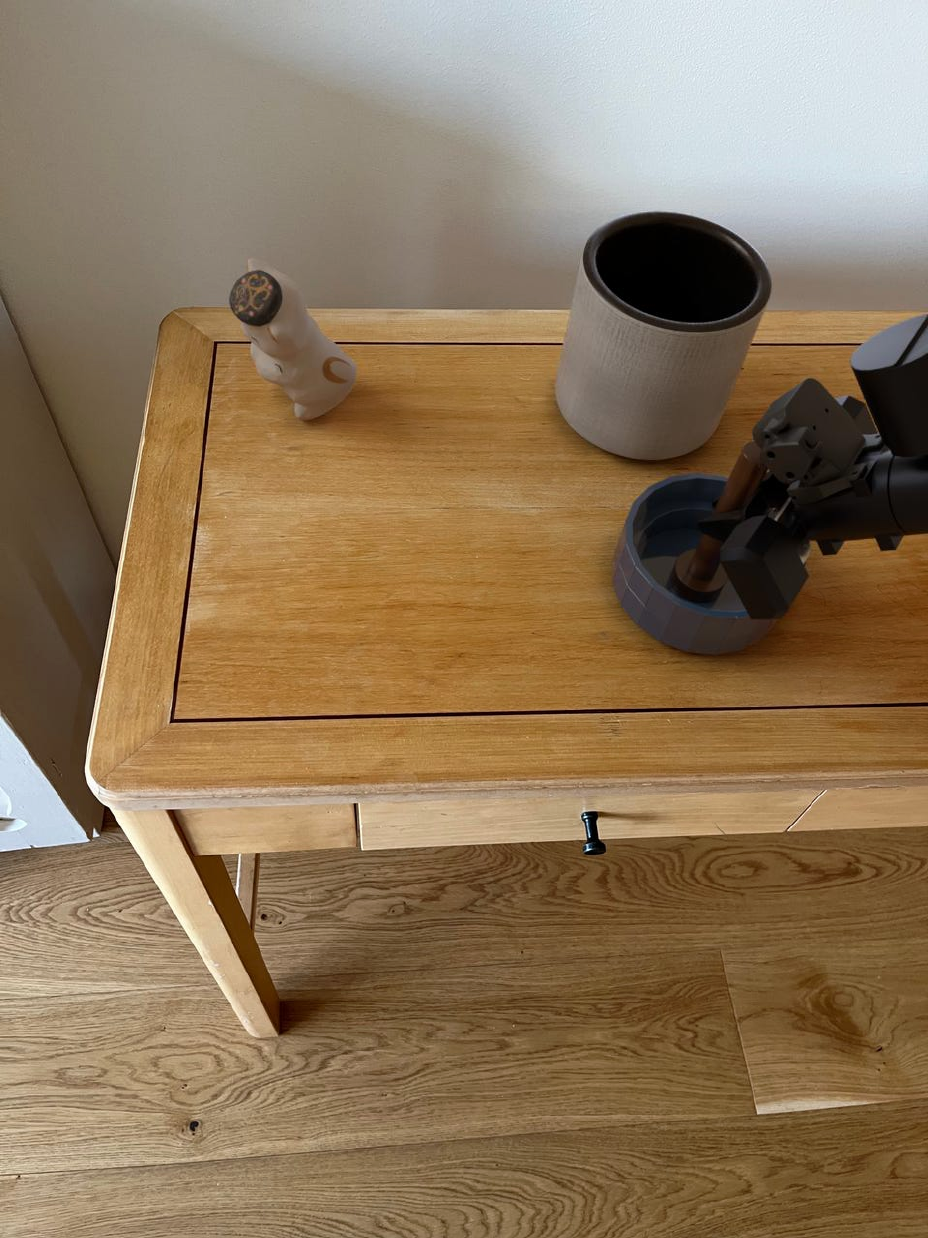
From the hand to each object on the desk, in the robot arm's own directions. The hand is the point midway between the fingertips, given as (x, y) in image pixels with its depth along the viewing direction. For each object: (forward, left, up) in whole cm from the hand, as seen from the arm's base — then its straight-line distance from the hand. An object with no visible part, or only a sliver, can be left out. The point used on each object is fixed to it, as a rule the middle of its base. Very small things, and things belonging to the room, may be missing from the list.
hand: (707, 516), depth 71 cm
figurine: (+28, -25, -8) cm, 39 cm away
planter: (-3, -20, -8) cm, 22 cm away
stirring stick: (-1, +1, -7) cm, 8 cm away
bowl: (-1, +1, -8) cm, 8 cm away
